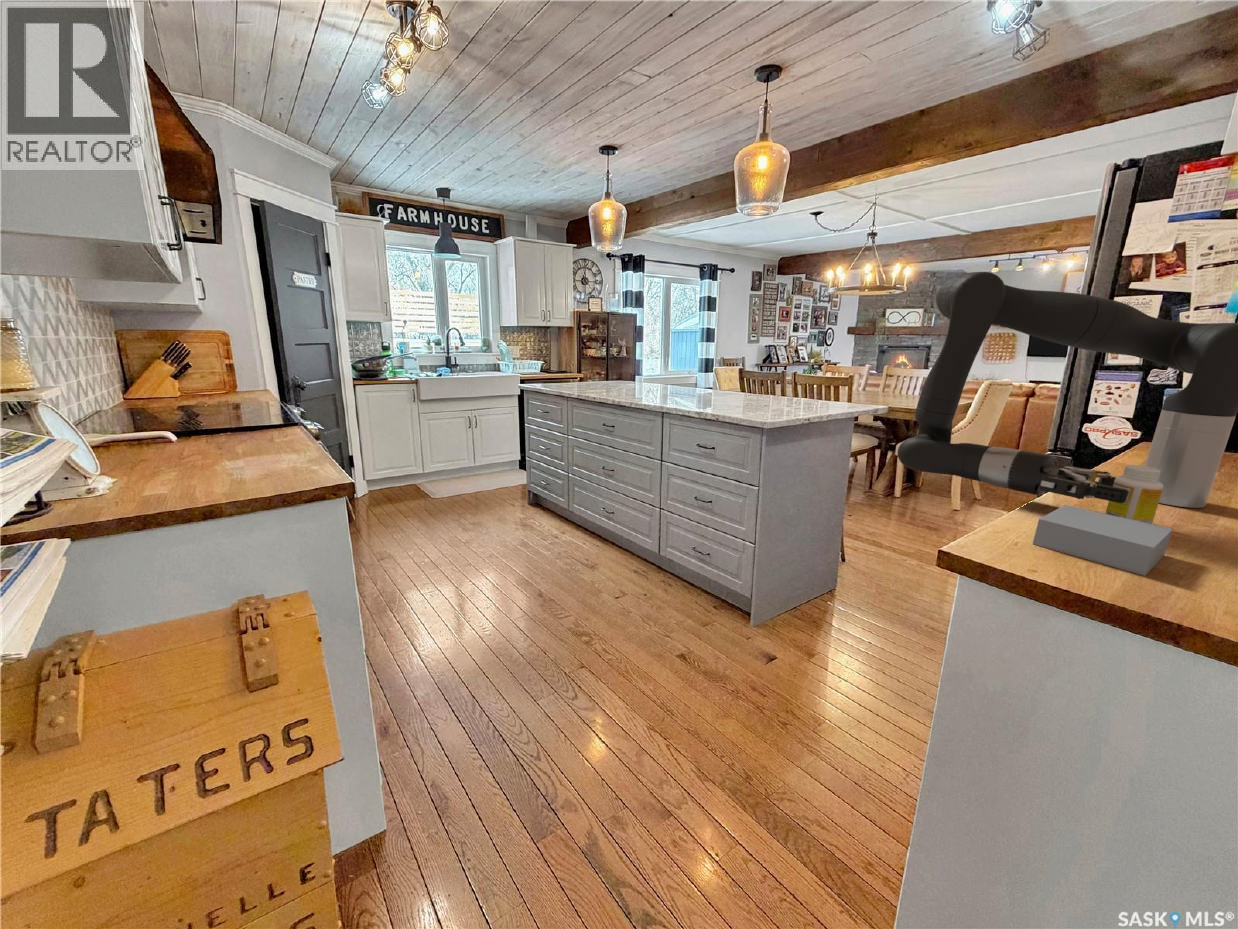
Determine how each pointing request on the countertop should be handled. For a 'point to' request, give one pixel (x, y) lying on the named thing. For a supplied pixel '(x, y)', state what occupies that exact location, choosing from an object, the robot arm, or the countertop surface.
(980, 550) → the countertop surface
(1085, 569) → the countertop surface
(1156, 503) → the supplement bottle
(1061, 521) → the slate block
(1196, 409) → the robot arm
